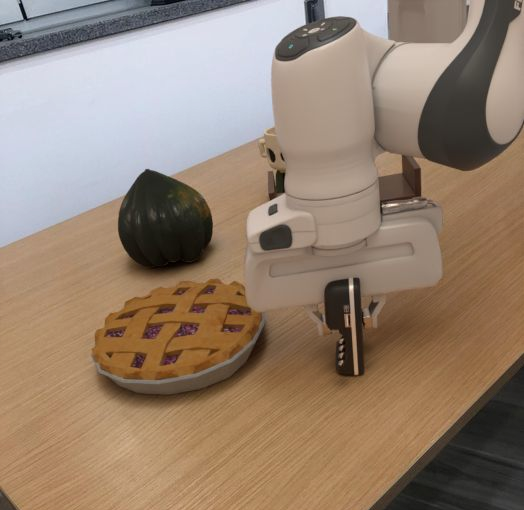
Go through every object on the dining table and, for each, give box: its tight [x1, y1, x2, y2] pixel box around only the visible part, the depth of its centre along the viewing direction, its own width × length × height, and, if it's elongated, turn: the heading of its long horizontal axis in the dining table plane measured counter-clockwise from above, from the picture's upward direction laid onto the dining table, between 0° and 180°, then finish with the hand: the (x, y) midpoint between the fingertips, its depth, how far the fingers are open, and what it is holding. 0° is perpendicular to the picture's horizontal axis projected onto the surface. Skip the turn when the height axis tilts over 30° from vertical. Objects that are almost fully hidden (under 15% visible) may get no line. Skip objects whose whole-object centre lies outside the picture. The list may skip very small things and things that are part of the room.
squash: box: [117, 168, 214, 268], centre depth 96 cm, size 14×15×15 cm
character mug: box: [258, 125, 286, 194], centre depth 108 cm, size 11×7×13 cm, turn 62°
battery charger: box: [323, 277, 365, 376], centre depth 65 cm, size 7×4×11 cm, turn 173°
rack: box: [267, 155, 422, 203], centre depth 86 cm, size 20×9×13 cm, turn 90°
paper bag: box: [387, 0, 468, 43], centre depth 128 cm, size 19×15×28 cm
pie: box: [90, 278, 266, 396], centre depth 74 cm, size 22×22×5 cm
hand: (347, 329), depth 66 cm, fingers closed on battery charger, 3 cm apart
